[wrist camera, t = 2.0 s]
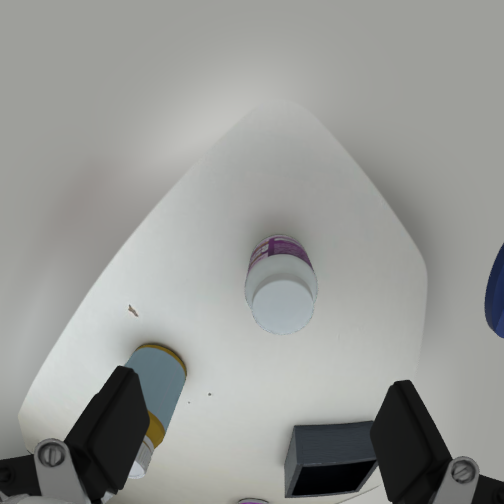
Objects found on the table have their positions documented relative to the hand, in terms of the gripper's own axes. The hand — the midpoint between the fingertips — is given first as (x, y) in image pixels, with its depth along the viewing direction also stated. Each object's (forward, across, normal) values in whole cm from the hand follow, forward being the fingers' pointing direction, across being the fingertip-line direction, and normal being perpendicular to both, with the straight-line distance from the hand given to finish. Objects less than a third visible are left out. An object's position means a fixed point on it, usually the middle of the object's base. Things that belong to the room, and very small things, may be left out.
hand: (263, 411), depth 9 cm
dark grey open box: (+18, -11, +29) cm, 36 cm away
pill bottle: (+19, -1, 0) cm, 19 cm away
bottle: (+19, +12, +14) cm, 26 cm away
